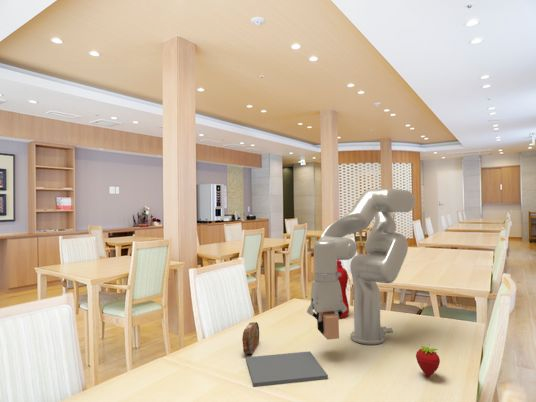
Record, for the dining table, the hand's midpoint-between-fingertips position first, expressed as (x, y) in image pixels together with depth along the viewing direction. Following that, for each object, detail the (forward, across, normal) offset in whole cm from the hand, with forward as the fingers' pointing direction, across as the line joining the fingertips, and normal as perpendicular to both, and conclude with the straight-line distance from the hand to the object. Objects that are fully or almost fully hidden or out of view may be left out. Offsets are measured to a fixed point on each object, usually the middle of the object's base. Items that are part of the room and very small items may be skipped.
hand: (327, 330), depth 126 cm
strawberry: (+9, -23, +20) cm, 32 cm away
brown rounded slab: (+8, +25, -12) cm, 29 cm away
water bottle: (+10, -19, -41) cm, 46 cm away
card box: (+1, 0, 0) cm, 1 cm away
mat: (+8, +17, +6) cm, 20 cm away
